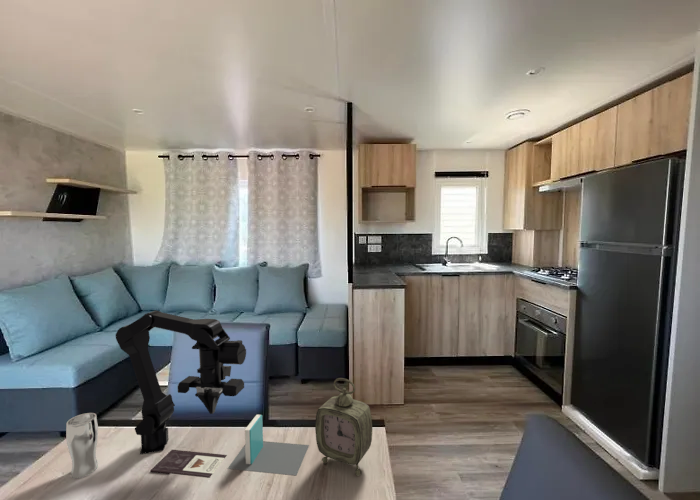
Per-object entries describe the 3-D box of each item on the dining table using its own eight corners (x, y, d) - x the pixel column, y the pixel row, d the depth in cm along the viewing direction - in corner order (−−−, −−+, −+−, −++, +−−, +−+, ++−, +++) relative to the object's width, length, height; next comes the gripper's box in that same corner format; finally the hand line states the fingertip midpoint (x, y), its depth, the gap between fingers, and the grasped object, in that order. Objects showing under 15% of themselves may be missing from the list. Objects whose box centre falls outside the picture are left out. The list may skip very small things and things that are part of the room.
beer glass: (73, 466, 96) (70, 415, 95) (103, 459, 99) (100, 410, 98) (64, 483, 90) (61, 428, 89) (96, 475, 93) (93, 422, 92)
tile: (245, 463, 96) (244, 429, 95) (257, 445, 104) (256, 414, 103) (251, 464, 96) (250, 430, 95) (263, 446, 104) (262, 415, 103)
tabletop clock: (315, 465, 96) (314, 379, 94) (332, 446, 104) (330, 367, 102) (361, 482, 89) (360, 390, 88) (375, 461, 97) (374, 376, 95)
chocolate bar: (171, 449, 103) (226, 454, 100) (172, 452, 103) (226, 458, 100) (150, 470, 94) (209, 477, 91) (150, 473, 94) (209, 480, 91)
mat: (227, 469, 94) (227, 468, 94) (248, 441, 107) (248, 439, 107) (296, 476, 91) (296, 475, 91) (309, 446, 104) (309, 445, 104)
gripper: (251, 354, 107) (253, 401, 108) (198, 351, 110) (200, 398, 111) (234, 368, 96) (236, 421, 97) (175, 365, 99) (177, 416, 100)
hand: (212, 413), depth 101 cm, fingers closed
